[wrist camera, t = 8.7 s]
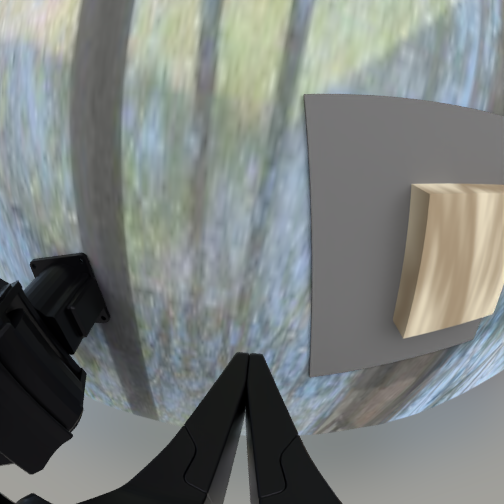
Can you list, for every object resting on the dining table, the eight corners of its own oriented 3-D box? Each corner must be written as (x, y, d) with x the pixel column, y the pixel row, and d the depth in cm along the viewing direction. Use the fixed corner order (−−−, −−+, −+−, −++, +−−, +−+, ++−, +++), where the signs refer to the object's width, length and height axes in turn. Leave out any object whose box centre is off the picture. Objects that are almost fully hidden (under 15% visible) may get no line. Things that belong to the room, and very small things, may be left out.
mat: (309, 375, 27) (309, 377, 26) (303, 94, 16) (304, 94, 16) (471, 337, 26) (473, 339, 26) (517, 120, 15) (519, 120, 15)
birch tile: (403, 338, 21) (492, 313, 21) (430, 194, 16) (524, 194, 16) (392, 319, 24) (480, 299, 23) (411, 183, 18) (506, 184, 18)
